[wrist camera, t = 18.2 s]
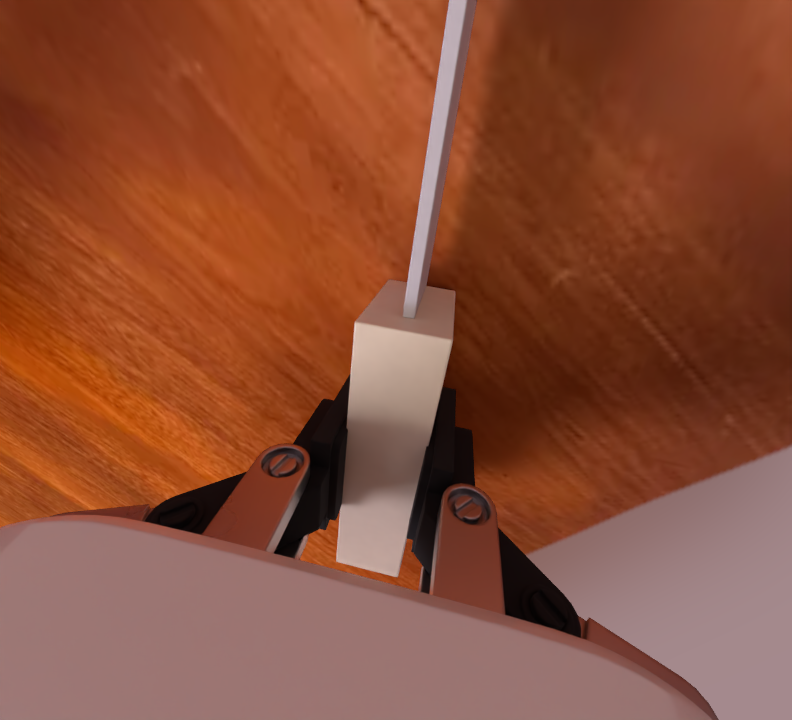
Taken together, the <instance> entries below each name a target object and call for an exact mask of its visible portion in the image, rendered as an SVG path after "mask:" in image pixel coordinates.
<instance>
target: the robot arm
mask: <svg viewBox="0 0 792 720" xmlns="http://www.w3.org/2000/svg"><path fill="white" fill-rule="evenodd" d="M350 376H351V374H350V375H349V377H348V379H347V380H346V382H345V383H344V385H343V387H342V388H341V390H340V392H339V393H338V395H337V397H336V398H335V400H329V399H323V400H322V401H321V403H320V404H319V406H318V407H317V409H316V410H315V412H314V413H313V415H312V416H311V418H310V419H309V421H308V422H307V424H306V425H305V427H304V428H303V430H302V431H301V433H300V434H299V436H298V437H297V439H296V440H295V442H294V443H293V444H287V443H286V444H278V445H275V446H272V447H269V448H268V449H266V450H264V451H263V452H262V453H261V454H260V455H259V456H258V457H257V459H256V460H255V462H254V463H253V464H252V466H251V467H250V468H249V470H248V471H247V472H245V473H242V474H239V475H236V476H233V477H230V478H227V479H224V480H221V481H218V482H215V483H212V484H209V485H206V486H204V487H201V488H198V489H195V490H192V491H189V492H186V493H183V494H180V495H177V496H174V497H172V498H170V499H168V500H165V501H164V502H162V503H161V504H159V505H158V506H157V507H155V508H151V509H150V506H149V504H146V505H136V506H126V507H117V508H107V509H97V510H88V511H78V512H68V513H62V514H57V515H53V516H50V517H46V518H38V519H32V520H27V521H22V522H18V523H14V524H10V525H6V526H4V527H1V528H0V720H718V718H717V716H716V715H715V713H714V711H713V710H712V708H711V706H710V705H709V703H708V702H707V701H706V700H705V699H704V697H703V696H702V695H701V694H700V693H699V692H698V691H697V689H696V688H695V687H693V686H692V685H691V684H690V683H688V682H687V681H686V680H685V679H683V678H682V677H681V676H679V675H678V674H676V673H674V672H673V671H671V670H670V669H668V668H667V667H665V666H664V665H662V664H660V663H659V662H658V661H656V660H654V659H653V658H651V657H650V656H648V655H647V654H645V653H644V652H642V651H640V650H639V649H637V648H636V647H634V646H633V645H631V644H630V643H628V642H627V641H625V640H624V639H622V638H620V637H619V636H617V635H615V634H614V633H613V632H611V631H610V630H608V629H606V628H605V627H603V626H602V625H600V624H599V623H597V622H596V621H594V620H593V619H591V618H589V619H588V620H587V621H585V620H584V619H582V618H581V617H579V616H578V615H577V613H576V611H575V610H574V608H573V606H572V604H571V603H570V602H569V600H568V599H567V598H566V597H565V596H564V594H563V593H562V592H561V591H560V590H559V589H558V588H557V587H556V586H555V585H554V584H553V583H552V582H551V581H550V580H549V579H548V578H547V577H546V576H545V575H544V574H543V573H542V572H541V571H540V570H539V569H538V568H537V567H536V566H535V565H534V564H533V563H532V562H531V561H530V560H529V559H528V558H527V557H526V555H525V554H524V553H523V552H522V551H521V550H520V549H519V548H518V547H517V546H516V545H515V544H514V543H513V542H512V541H511V540H510V539H509V538H508V537H507V536H506V535H505V534H504V533H503V532H502V531H501V530H500V529H499V528H498V522H497V512H496V508H495V505H494V503H493V501H492V500H491V498H490V497H489V496H488V495H487V494H486V493H485V492H484V491H482V490H481V489H479V488H477V487H475V478H474V457H473V437H472V431H471V430H469V429H464V428H459V427H455V407H456V389H451V388H446V387H442V391H441V395H440V399H439V403H438V408H437V412H436V416H435V420H434V425H433V429H432V433H431V438H430V442H429V446H426V450H425V455H424V459H423V463H422V468H421V472H420V476H419V481H418V485H417V489H416V494H415V498H414V502H413V506H412V511H411V515H410V519H409V525H408V532H407V538H408V539H412V540H413V544H412V552H414V554H415V556H416V557H417V558H418V560H419V561H420V562H421V564H422V565H423V566H422V569H421V576H420V584H419V591H415V590H411V589H407V588H404V587H400V586H396V585H393V584H389V583H385V582H381V581H377V580H374V579H370V578H366V577H362V576H358V575H354V574H351V573H347V572H343V571H339V570H335V569H332V568H328V567H324V566H320V565H316V564H312V563H309V562H305V561H301V560H300V557H301V555H302V552H303V550H304V548H305V545H306V543H307V540H308V536H309V534H310V533H312V532H314V531H316V530H318V529H319V528H320V529H323V530H326V528H327V525H328V523H329V520H330V519H331V520H336V518H337V516H338V513H339V510H340V508H341V505H342V496H343V484H344V472H345V460H346V448H347V436H348V429H347V415H348V402H349V389H350Z"/></svg>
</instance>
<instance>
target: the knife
mask: <svg viewBox="0 0 792 720" xmlns="http://www.w3.org/2000/svg"><path fill="white" fill-rule="evenodd" d="M476 2H477V0H449V5H448V12H447V18H446V25H445V32H444V39H443V45H442V52H441V59H440V66H439V72H438V79H437V86H436V93H435V99H434V106H433V113H432V120H431V126H430V133H429V140H428V147H427V153H426V160H425V167H424V173H423V180H422V187H421V194H420V200H419V207H418V214H417V221H416V227H415V234H414V241H413V248H412V254H411V261H410V268H409V275H408V281H407V282H402V281H396V280H388V281H387V283H386V284H385V285H384V286H383V288H382V289H381V290H380V291H379V293H378V294H377V295H376V296H375V298H374V299H373V300H372V301H371V303H370V304H369V305H368V306H367V308H366V309H365V310H364V311H363V313H362V314H361V315H360V316H359V318H358V319H357V320H356V321H355V324H354V337H353V350H352V363H351V376H350V389H349V402H348V415H347V429H348V436H347V448H346V460H345V472H344V484H343V496H342V505H341V508H340V518H339V531H338V544H337V557H336V561H337V562H340V563H344V564H348V565H351V566H355V567H359V568H363V569H367V570H371V571H375V572H378V573H382V574H386V575H390V576H394V577H398V575H399V570H400V566H401V562H402V557H403V553H404V549H405V545H406V540H407V532H408V525H409V519H410V515H411V511H412V506H413V502H414V498H415V494H416V489H417V485H418V481H419V476H420V472H421V468H422V463H423V459H424V455H425V450H426V446H429V442H430V438H431V433H432V429H433V425H434V420H435V416H436V412H437V408H438V403H439V399H440V395H441V391H442V386H443V382H444V378H445V373H446V369H447V365H448V361H449V356H450V352H451V348H452V343H453V331H454V312H455V291H453V290H447V289H441V288H436V287H430V286H426V285H427V280H428V274H429V268H430V263H431V257H432V251H433V246H434V240H435V234H436V229H437V223H438V218H439V212H440V206H441V201H442V195H443V189H444V184H445V178H446V172H447V167H448V161H449V155H450V150H451V144H452V138H453V133H454V127H455V121H456V116H457V110H458V104H459V99H460V93H461V87H462V82H463V76H464V70H465V65H466V59H467V53H468V48H469V42H470V36H471V31H472V25H473V19H474V14H475V8H476Z"/></svg>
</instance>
